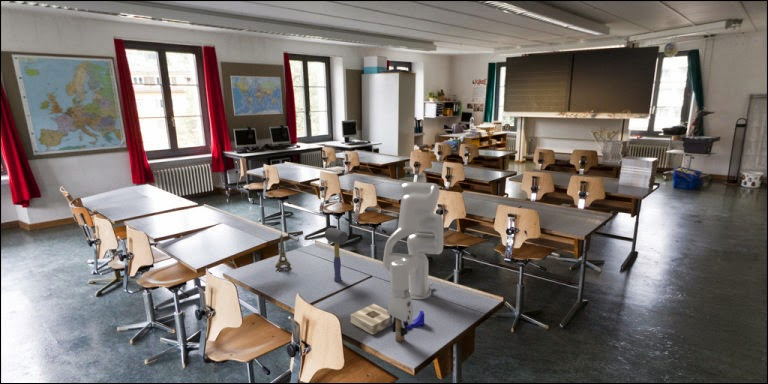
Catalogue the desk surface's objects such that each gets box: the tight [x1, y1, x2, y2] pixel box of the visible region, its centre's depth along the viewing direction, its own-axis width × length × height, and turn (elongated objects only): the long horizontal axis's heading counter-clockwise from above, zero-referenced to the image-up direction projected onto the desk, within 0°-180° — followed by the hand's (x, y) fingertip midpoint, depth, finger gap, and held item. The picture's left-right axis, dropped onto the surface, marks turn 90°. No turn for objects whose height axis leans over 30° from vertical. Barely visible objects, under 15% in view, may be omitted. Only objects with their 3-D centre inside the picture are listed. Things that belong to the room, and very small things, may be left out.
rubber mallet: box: [324, 227, 349, 283], centre depth 223 cm, size 12×8×30 cm, turn 46°
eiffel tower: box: [274, 231, 293, 273], centre depth 242 cm, size 11×11×25 cm
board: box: [350, 303, 393, 336], centre depth 183 cm, size 14×14×4 cm
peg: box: [395, 318, 405, 343], centre depth 169 cm, size 4×4×10 cm
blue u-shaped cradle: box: [404, 310, 425, 330], centre depth 180 cm, size 12×4×6 cm, turn 94°
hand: (399, 332), depth 169 cm, fingers closed on peg, 3 cm apart
